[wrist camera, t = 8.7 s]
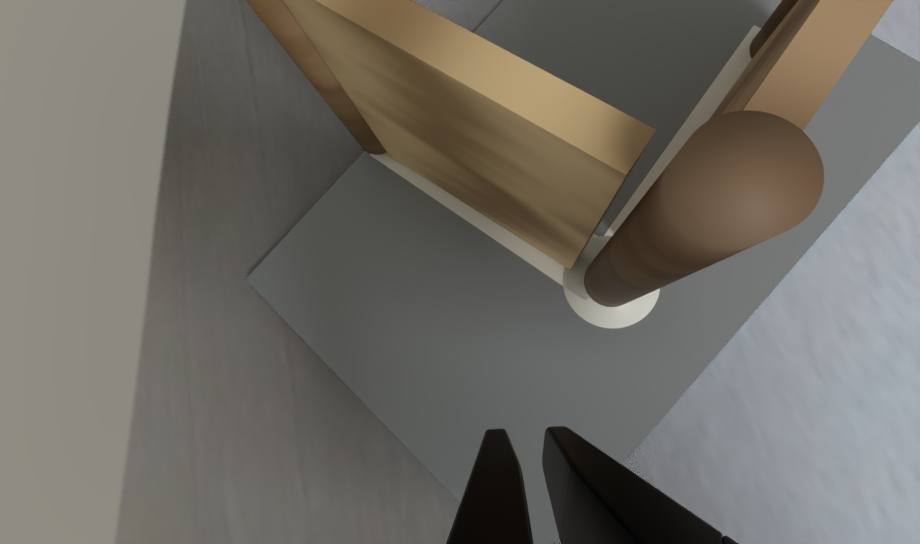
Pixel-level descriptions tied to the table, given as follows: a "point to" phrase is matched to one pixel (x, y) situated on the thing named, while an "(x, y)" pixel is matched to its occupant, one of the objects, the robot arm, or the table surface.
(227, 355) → the table surface
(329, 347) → the card
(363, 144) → the swing panel
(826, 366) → the table surface
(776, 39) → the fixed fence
